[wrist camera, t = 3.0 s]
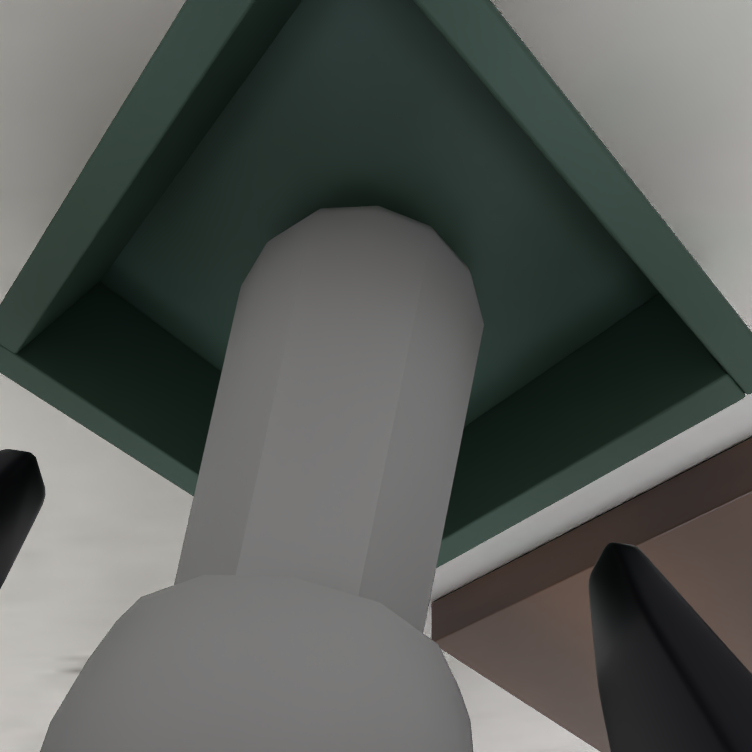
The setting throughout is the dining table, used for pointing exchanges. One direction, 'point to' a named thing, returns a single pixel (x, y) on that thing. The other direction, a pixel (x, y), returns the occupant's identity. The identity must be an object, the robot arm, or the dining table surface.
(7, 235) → the dining table surface
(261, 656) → the salt shaker
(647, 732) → the robot arm
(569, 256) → the green square tray
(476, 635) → the serving board
